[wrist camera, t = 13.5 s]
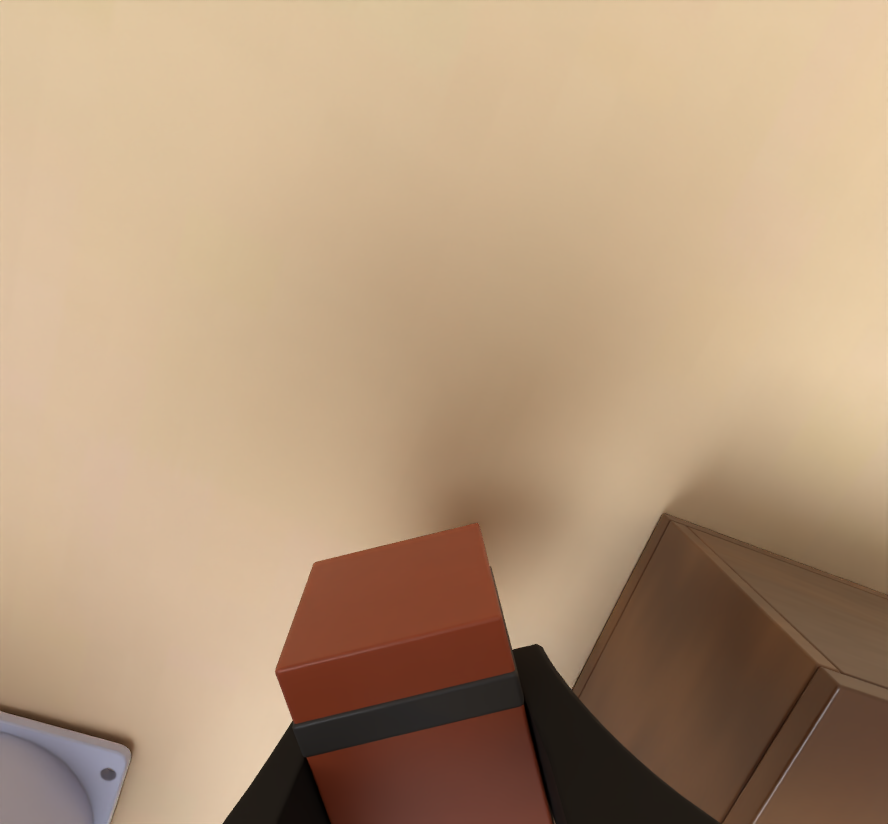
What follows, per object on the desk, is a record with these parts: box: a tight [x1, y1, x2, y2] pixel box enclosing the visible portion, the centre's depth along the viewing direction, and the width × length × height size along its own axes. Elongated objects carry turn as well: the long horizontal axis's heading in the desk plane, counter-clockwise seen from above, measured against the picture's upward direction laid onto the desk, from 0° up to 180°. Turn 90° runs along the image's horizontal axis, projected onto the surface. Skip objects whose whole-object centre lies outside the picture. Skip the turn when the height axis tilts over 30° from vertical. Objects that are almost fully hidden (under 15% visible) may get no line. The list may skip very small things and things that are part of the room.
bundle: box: [275, 523, 555, 824], centre depth 12 cm, size 7×4×4 cm, turn 14°
